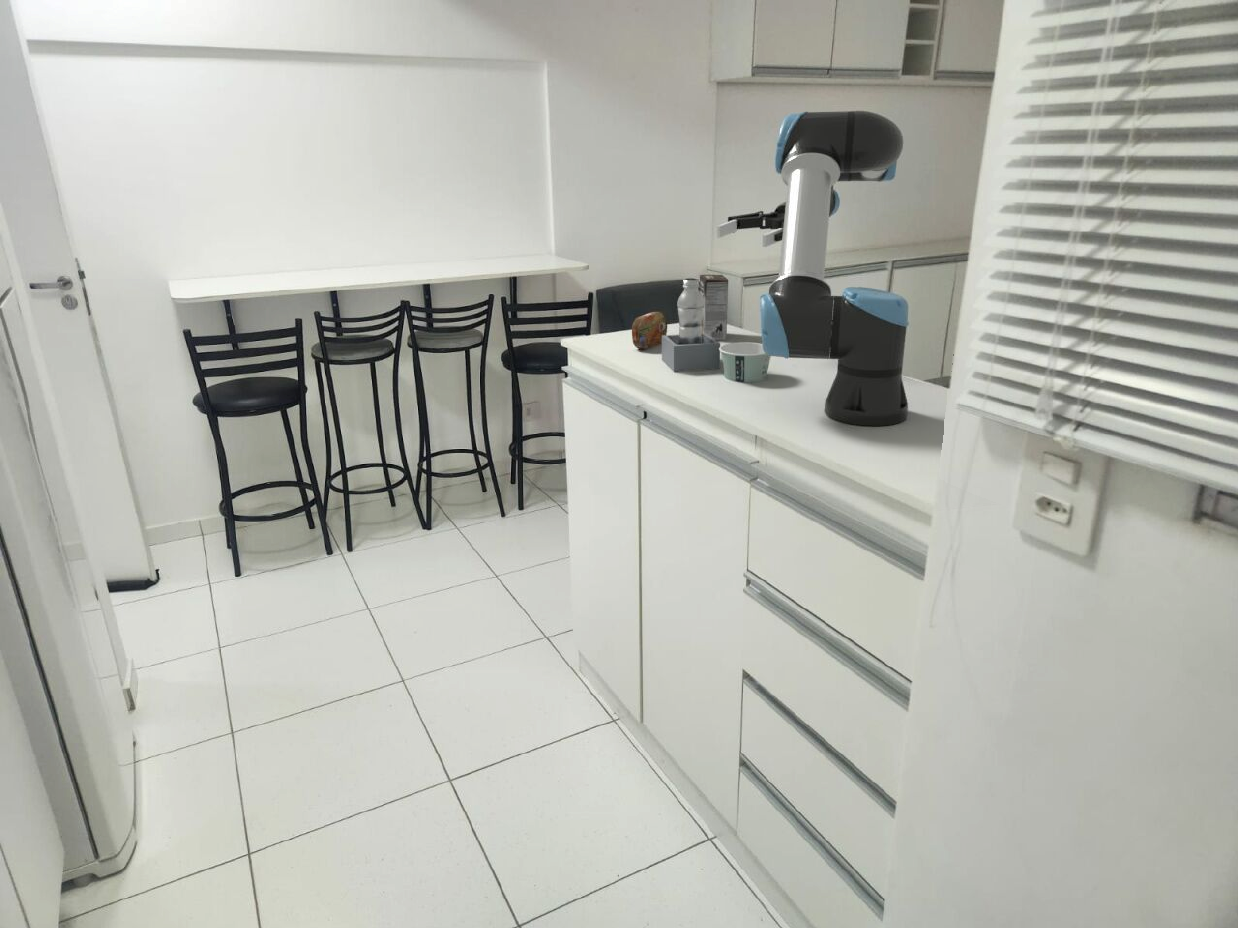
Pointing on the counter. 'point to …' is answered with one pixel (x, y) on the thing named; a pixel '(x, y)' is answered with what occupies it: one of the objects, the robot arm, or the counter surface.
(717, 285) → the coffee box
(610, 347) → the counter surface
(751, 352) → the food container
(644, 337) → the tin
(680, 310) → the plastic bottle
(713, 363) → the bottle holder
